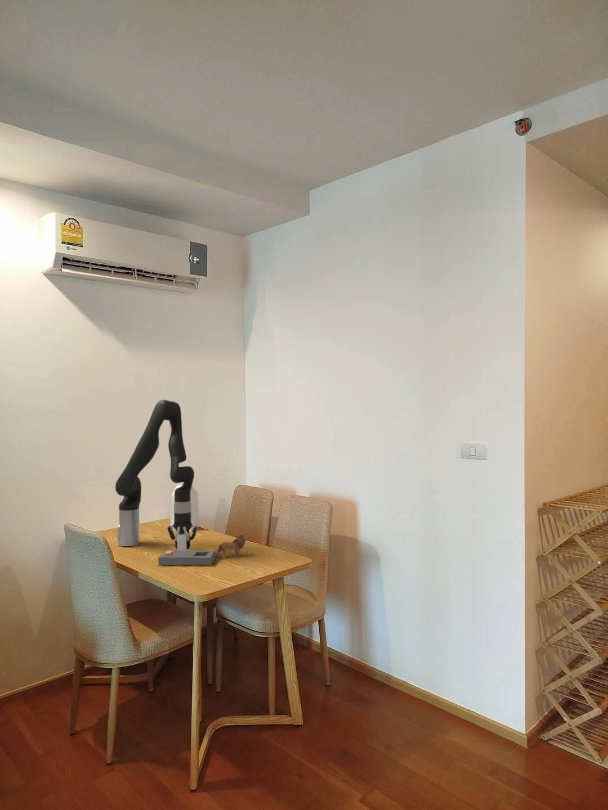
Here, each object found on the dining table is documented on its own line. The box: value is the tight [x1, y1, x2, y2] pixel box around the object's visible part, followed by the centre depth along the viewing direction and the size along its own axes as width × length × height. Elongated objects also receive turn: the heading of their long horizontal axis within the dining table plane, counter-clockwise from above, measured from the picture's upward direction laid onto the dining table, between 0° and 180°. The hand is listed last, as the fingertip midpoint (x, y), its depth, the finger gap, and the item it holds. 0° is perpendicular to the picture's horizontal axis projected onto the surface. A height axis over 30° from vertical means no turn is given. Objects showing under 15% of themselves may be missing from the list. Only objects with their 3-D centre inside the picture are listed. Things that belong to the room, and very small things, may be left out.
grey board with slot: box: [157, 550, 216, 567], centre depth 230 cm, size 22×10×4 cm, turn 88°
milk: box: [169, 482, 201, 532], centre depth 290 cm, size 12×12×26 cm
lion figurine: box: [215, 534, 247, 559], centre depth 238 cm, size 15×5×9 cm, turn 122°
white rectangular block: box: [176, 533, 189, 551], centre depth 242 cm, size 4×4×9 cm
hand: (182, 548), depth 242 cm, fingers closed on white rectangular block, 4 cm apart
